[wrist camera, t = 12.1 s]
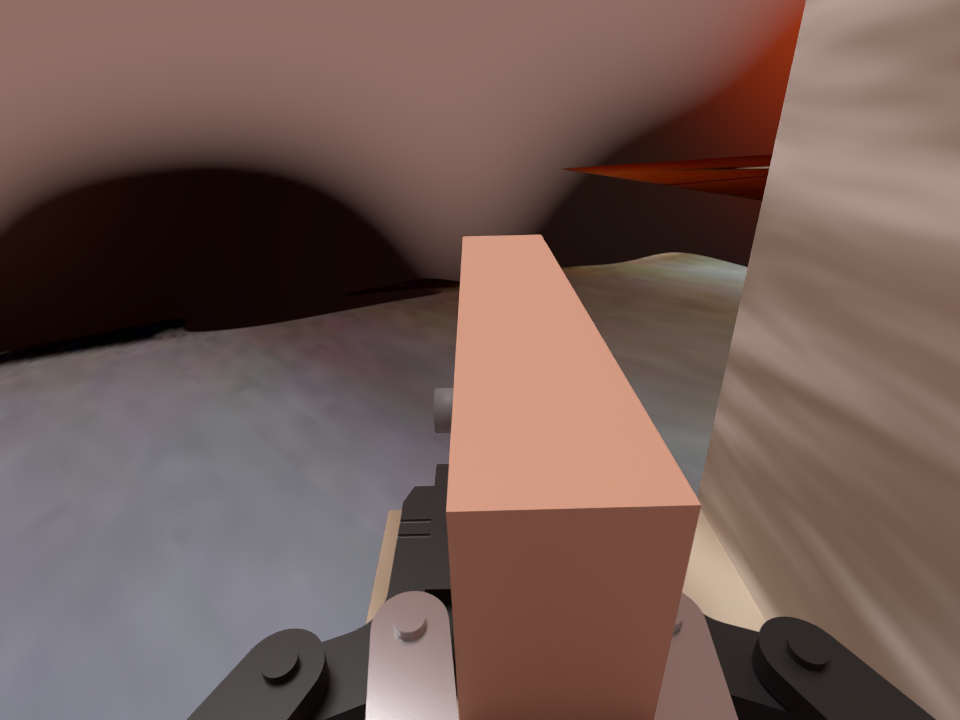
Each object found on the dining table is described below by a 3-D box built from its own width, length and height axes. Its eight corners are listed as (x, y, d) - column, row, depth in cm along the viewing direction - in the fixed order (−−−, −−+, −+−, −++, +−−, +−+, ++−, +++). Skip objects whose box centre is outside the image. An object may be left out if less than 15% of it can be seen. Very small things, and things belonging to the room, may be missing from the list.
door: (425, 981, 10) (338, 515, 5) (448, 531, 21) (430, 237, 16) (597, 975, 10) (702, 504, 5) (531, 528, 21) (541, 234, 16)
